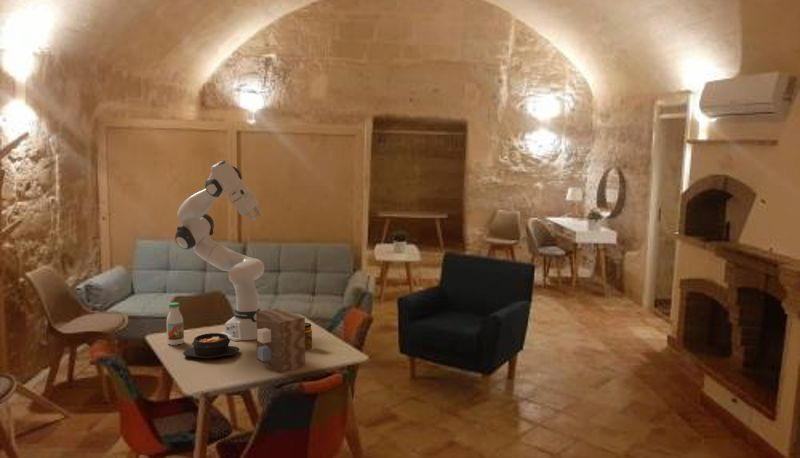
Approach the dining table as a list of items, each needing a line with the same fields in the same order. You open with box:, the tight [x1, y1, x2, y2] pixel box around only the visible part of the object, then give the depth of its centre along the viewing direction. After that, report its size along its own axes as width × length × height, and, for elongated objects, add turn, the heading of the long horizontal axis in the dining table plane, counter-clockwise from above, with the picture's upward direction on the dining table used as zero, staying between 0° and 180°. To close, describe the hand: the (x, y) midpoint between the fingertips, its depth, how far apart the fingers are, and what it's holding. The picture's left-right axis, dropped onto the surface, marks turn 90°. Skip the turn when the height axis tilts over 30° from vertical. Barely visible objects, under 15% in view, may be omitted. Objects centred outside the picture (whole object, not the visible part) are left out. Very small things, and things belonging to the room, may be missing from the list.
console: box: [256, 307, 306, 373], centre depth 278 cm, size 12×22×22 cm, turn 39°
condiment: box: [305, 322, 316, 352], centre depth 298 cm, size 7×8×12 cm
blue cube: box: [256, 345, 272, 362], centre depth 274 cm, size 5×5×5 cm
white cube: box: [256, 328, 271, 343], centre depth 273 cm, size 5×5×5 cm
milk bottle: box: [166, 301, 185, 346], centre depth 304 cm, size 8×8×20 cm
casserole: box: [182, 332, 240, 360], centre depth 288 cm, size 25×19×8 cm
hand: (257, 218), depth 283 cm, fingers open, 8 cm apart
